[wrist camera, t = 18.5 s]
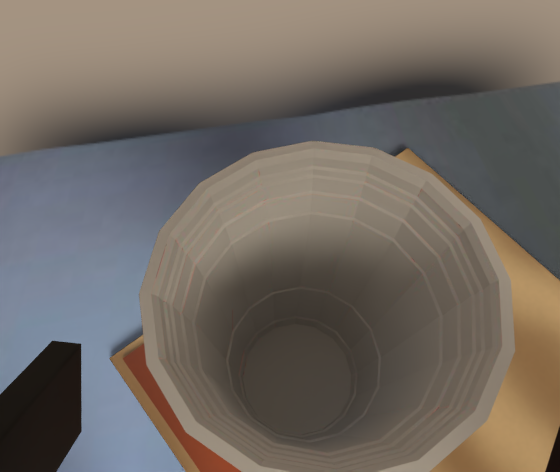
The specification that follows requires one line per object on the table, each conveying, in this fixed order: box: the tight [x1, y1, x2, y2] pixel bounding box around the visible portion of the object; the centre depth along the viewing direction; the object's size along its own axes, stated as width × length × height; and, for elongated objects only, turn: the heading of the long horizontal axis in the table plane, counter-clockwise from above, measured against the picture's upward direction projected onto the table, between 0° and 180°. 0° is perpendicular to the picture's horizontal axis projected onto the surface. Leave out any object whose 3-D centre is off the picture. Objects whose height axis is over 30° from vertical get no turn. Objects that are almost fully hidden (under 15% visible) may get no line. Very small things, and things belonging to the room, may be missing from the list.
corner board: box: [110, 148, 560, 472], centre depth 25 cm, size 22×20×1 cm
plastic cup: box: [139, 141, 515, 472], centre depth 19 cm, size 11×11×12 cm
